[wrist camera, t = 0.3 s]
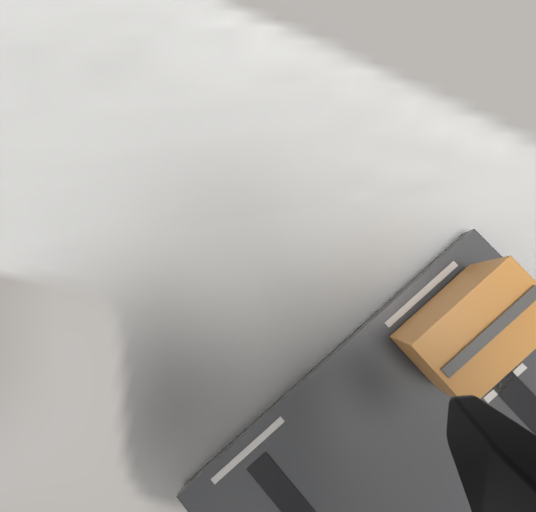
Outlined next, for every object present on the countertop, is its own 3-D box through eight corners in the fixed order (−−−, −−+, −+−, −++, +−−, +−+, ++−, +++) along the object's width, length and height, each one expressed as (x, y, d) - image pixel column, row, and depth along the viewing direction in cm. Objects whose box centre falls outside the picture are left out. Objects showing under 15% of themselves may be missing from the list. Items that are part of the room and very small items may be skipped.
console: (649, 420, 20) (673, 428, 19) (347, 694, 20) (351, 721, 19) (464, 232, 22) (475, 228, 20) (183, 485, 22) (175, 497, 20)
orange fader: (516, 313, 20) (574, 316, 15) (435, 386, 20) (471, 410, 15) (469, 264, 20) (513, 254, 16) (389, 336, 20) (412, 346, 16)
